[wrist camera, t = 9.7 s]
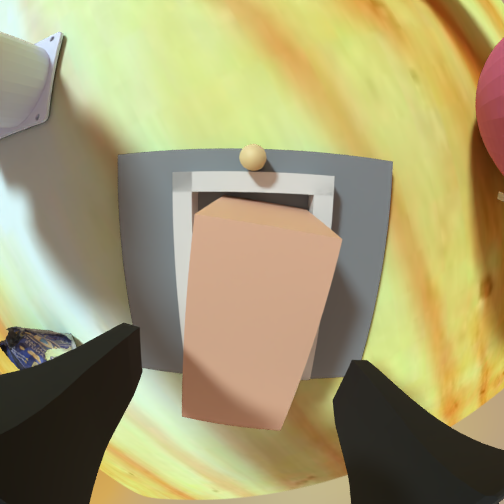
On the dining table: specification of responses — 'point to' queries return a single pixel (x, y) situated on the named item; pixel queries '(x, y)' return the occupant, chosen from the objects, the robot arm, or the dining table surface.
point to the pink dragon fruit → (492, 107)
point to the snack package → (33, 345)
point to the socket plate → (262, 189)
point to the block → (252, 309)
